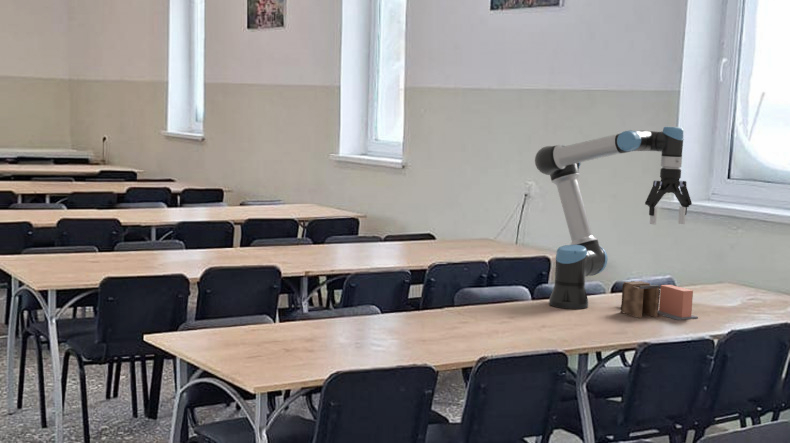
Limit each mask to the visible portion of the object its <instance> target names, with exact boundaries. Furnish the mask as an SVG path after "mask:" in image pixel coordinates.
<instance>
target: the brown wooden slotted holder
mask: <svg viewBox="0 0 790 443" xmlns="http://www.w3.org/2000/svg"><path fill="white" fill-rule="evenodd" d="M634 281H635V280H634ZM659 290H660V285H658V284H653V285H652V284H650V283H649V282H645V281H641V280H639V281H638V280H637V281H635V282H631V281H623V283H622V290H621V304H620V305H621V306H620V307H621V308H620V313H622V312H623V313H622V314H625V313H626V315H628V314H629V315H628V316H632V317H635V318H638V319H642V318H643V315H647V316H650V317H654V318H658V314H657V313H658V309H659V308H658V297H659Z"/></svg>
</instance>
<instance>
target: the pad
mask: <svg viewBox="0 0 790 443" xmlns="http://www.w3.org/2000/svg"><path fill="white" fill-rule="evenodd" d="M657 315H660V316H663V317H667V318H670V319H673V320H676V321H677V320H678V321H679V320H691V319H693V320H694V319H699V316H697V315H693V314H691V317H678V316H675V315H672V314H668V313H665V312H662V311H659V310H658V313H657Z"/></svg>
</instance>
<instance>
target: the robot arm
mask: <svg viewBox="0 0 790 443" xmlns="http://www.w3.org/2000/svg"><path fill="white" fill-rule="evenodd" d="M684 140H685V139H684V129H683V127H681V126H664V127H663V128H662V131H649V130H631V129H630V130H625V131H622V132H621V133H616V134H612V135H608V136H603V137H598V138H594V139H591V140H585V141H581V142H576V143H572V144H569V145H560V144H558V145H547V146H546V145H545V146H543V147H541V148H540V149H539V150H538V151H537V152H536V154H535V157H534V164H535V167H536V169H537V170H538V171H539V172H540V173H542V174H543V175H547V176H550V180H551V183H553V185H556V187H557V192H558V196H559V199H560V204H561V206H562V210H563V213H564V217H565V221H566V225H567V228H568V232H569V235H570V240H571V243H570V244H569V245H566V244H565V245H562V246H560V247H558V248H557V249H556V254H555V272H554V286H553V289H552V291H551V294H550V296H549V301H548V305H549V306H551V307H555V308H560V309H570V310H578V309H579V310H580V309H581V310H582V309H583V310H584V309H586V308H588V307H589V300H588V299H589V298H588V295H587V291H586V288H585V286H586V277H591V276H593V277H594V276H595V275H598V274H601V273H602V272H603V271H604V270H605V268H606V267H607V265H608V254H607V252H606V250H605V249H604V248H603V247H602V246H600V244H599V243H600V242H599V240H598V238H597V237H595V236H593V232H592V228H591V225H590V221H589V218H588V214H587V210H586V206H585V203H584V200H583V195H582V192H581V188H580V185H579V181H578V179H579V177H580V171H579V169H580V166H581V164H582V163H584V162H587V161H589V162H590V161H594V160H598V159H603V158H606V157H608V158H609V157H611V156H616V155H621V154H625V153H630V152H659V153H660V152H661V158H660V167H661V168H660V175H659V177H660V180H653V182H652V187H651V190H650V191H649V193H648V196H647V198H646V200H645V203H644V205H645V206H647V207H649V209H648V210H649V211H648V215H649V224H650V225H653V226H654V225H655V226H656V225H657V213H658V207H657V205H658V203H659V202H660V201H661V199H662V198H663V197H664V195H666V194H669V193H671V194H674V196H675V198H676V199H677V201H678V202H679V204H680V205H681V206H680V205H679V208H678V220H677V221H678V224H679V225H685V221H686V216H687V214H688V211H687V210H688V208H689V207H690V206H692V204H693V202H692V200H691V196H690V193H689V191H688V190H689V189H688V186H687V181H686V180H680V179H681V178H682V170H681V168H682V163H683V146H684Z"/></svg>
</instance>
